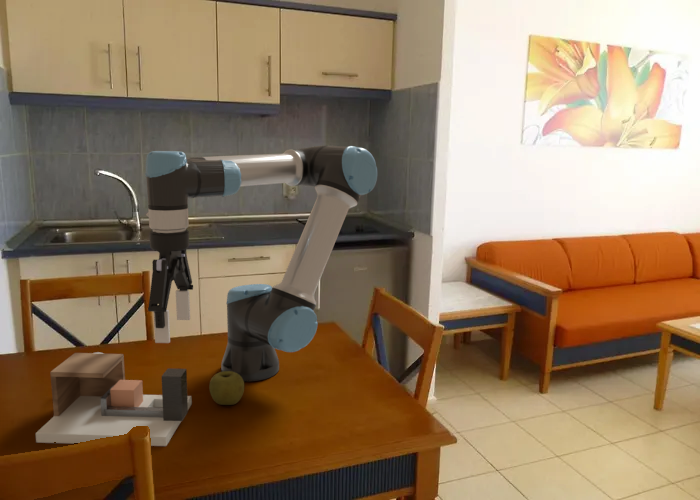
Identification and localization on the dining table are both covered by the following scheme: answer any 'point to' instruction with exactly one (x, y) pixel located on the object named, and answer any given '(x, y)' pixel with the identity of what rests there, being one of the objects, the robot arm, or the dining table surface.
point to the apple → (226, 387)
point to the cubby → (84, 377)
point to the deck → (104, 423)
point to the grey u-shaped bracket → (171, 395)
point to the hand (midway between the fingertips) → (173, 330)
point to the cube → (127, 393)
